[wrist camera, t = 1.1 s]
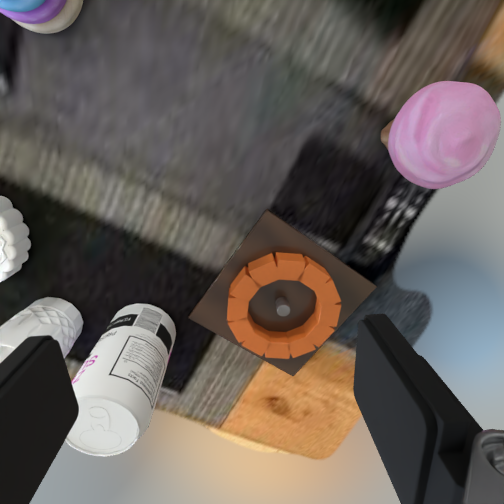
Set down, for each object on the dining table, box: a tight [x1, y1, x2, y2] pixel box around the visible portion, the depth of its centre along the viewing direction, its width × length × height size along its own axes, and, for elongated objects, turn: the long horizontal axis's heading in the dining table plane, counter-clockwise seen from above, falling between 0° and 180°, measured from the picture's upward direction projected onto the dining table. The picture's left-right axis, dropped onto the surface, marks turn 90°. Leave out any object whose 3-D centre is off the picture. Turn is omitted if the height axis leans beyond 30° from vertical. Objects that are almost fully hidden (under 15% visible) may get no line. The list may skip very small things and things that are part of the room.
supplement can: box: [65, 303, 176, 456], centre depth 35 cm, size 8×8×15 cm
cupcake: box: [381, 81, 501, 189], centre depth 30 cm, size 9×9×10 cm
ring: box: [227, 252, 341, 359], centre depth 39 cm, size 13×13×2 cm
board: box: [188, 209, 377, 376], centre depth 40 cm, size 17×17×3 cm
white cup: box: [0, 297, 83, 363], centre depth 37 cm, size 8×8×10 cm
